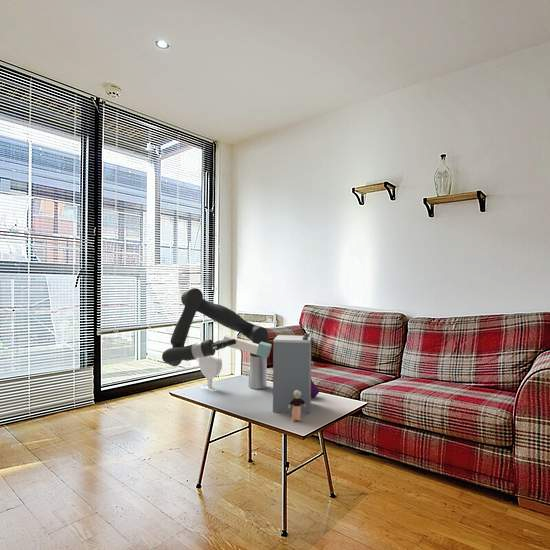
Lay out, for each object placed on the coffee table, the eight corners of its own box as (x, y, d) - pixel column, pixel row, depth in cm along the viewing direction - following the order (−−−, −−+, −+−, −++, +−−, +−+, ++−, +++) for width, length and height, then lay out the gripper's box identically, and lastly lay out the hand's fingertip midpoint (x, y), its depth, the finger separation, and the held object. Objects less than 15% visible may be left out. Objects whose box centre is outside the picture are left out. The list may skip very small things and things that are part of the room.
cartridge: (221, 344, 189) (224, 333, 188) (225, 342, 194) (227, 331, 194) (266, 358, 185) (269, 346, 185) (269, 355, 190) (271, 344, 190)
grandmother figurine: (291, 423, 166) (291, 392, 166) (287, 420, 170) (287, 389, 170) (307, 420, 169) (307, 390, 170) (303, 417, 173) (303, 388, 173)
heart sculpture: (222, 390, 215) (223, 356, 215) (215, 392, 211) (215, 357, 212) (204, 385, 226) (204, 352, 226) (197, 387, 222) (197, 354, 222)
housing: (272, 411, 180) (273, 337, 181) (277, 401, 196) (278, 332, 197) (309, 413, 178) (309, 337, 179) (310, 403, 194) (311, 333, 195)
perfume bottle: (299, 397, 204) (299, 361, 204) (308, 394, 209) (308, 359, 209) (311, 400, 199) (311, 363, 199) (320, 397, 204) (320, 361, 204)
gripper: (195, 344, 186) (230, 334, 183) (206, 339, 200) (238, 330, 197) (200, 360, 186) (234, 351, 183) (210, 353, 200) (243, 345, 197)
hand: (236, 340), depth 190 cm, fingers closed on cartridge, 4 cm apart
